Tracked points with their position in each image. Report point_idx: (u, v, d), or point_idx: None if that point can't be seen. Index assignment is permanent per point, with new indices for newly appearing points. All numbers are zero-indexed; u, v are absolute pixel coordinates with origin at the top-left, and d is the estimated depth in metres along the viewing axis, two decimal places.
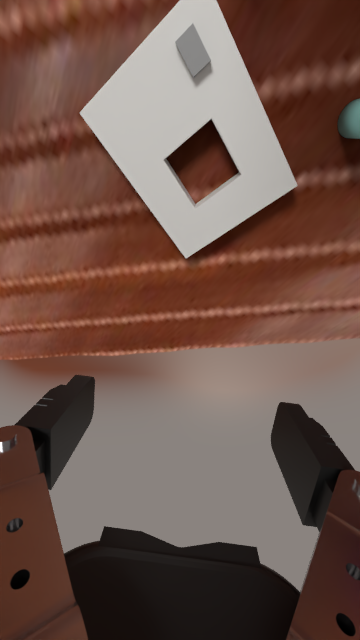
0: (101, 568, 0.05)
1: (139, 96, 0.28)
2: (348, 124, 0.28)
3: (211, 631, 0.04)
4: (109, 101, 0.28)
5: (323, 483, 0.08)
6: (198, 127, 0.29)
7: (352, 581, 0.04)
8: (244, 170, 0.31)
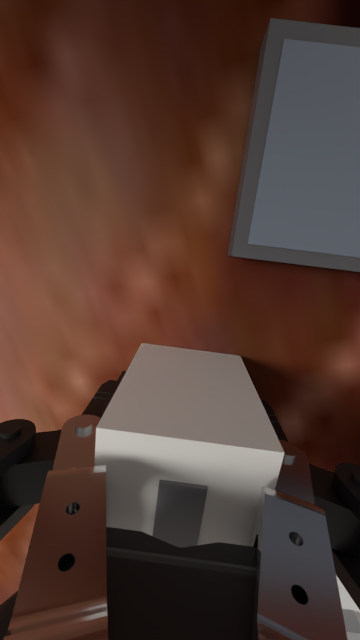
0: None
1: None
2: None
3: (211, 631, 0.04)
4: None
5: None
6: None
7: (295, 549, 0.05)
8: None
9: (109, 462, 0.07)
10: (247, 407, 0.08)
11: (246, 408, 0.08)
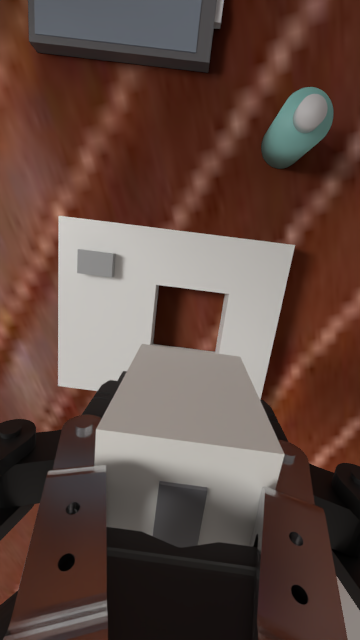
0: None
1: (88, 330, 0.25)
2: (282, 155, 0.21)
3: (211, 631, 0.04)
4: (71, 356, 0.26)
5: None
6: (152, 301, 0.24)
7: (295, 549, 0.05)
8: (227, 288, 0.24)
9: (109, 464, 0.07)
10: (247, 408, 0.08)
11: (246, 409, 0.08)
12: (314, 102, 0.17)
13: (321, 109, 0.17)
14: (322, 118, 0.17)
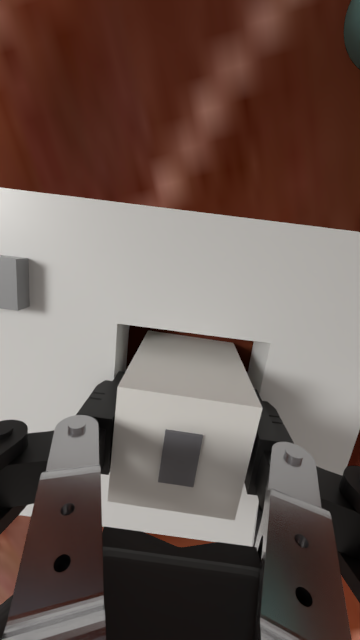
0: None
1: None
2: None
3: (211, 631, 0.04)
4: None
5: (263, 454, 0.09)
6: (111, 356, 0.12)
7: (300, 550, 0.05)
8: (268, 331, 0.11)
9: (126, 415, 0.08)
10: (236, 378, 0.10)
11: (235, 379, 0.10)
12: None
13: None
14: None
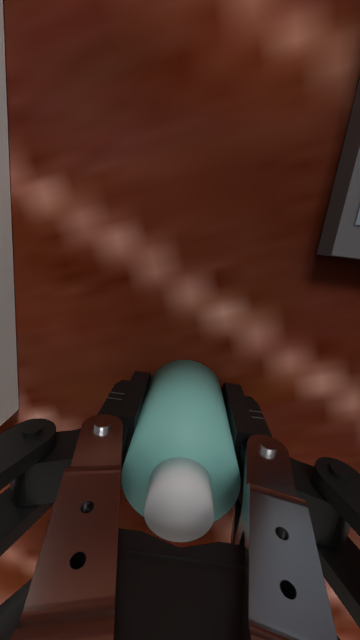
0: None
1: None
2: (140, 414, 0.10)
3: (211, 631, 0.04)
4: None
5: (240, 447, 0.09)
6: None
7: (281, 544, 0.05)
8: None
9: None
10: None
11: None
12: (195, 517, 0.07)
13: (180, 531, 0.07)
14: (161, 534, 0.07)
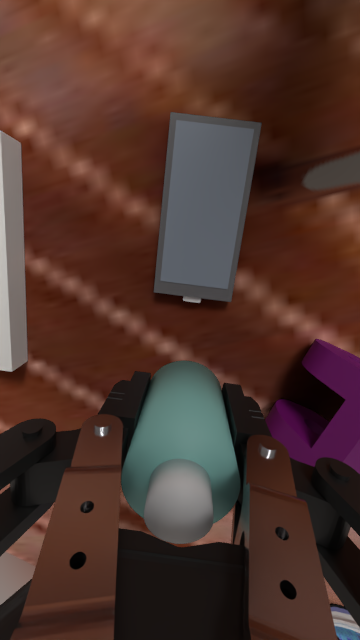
0: None
1: None
2: None
3: (211, 631, 0.04)
4: None
5: (241, 447, 0.09)
6: None
7: (281, 543, 0.05)
8: None
9: None
10: None
11: None
12: (195, 519, 0.07)
13: (180, 533, 0.07)
14: (161, 536, 0.07)
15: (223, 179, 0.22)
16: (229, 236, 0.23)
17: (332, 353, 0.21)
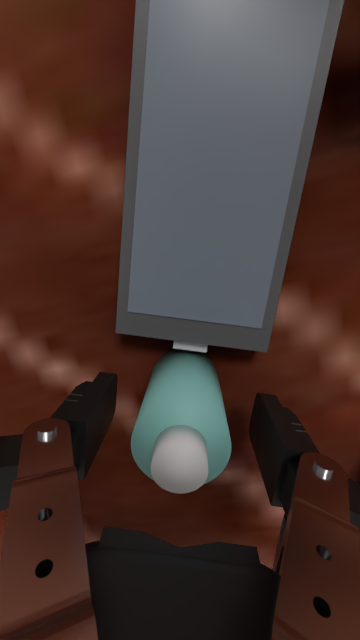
0: (101, 568, 0.05)
1: None
2: (145, 393, 0.11)
3: (211, 631, 0.04)
4: None
5: (288, 465, 0.08)
6: None
7: (323, 562, 0.05)
8: None
9: None
10: None
11: None
12: (193, 472, 0.08)
13: (180, 484, 0.08)
14: (164, 487, 0.09)
15: (259, 95, 0.10)
16: (269, 222, 0.11)
17: None
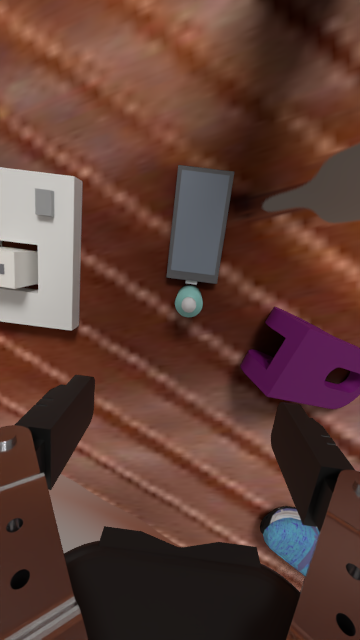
0: (101, 568, 0.05)
1: None
2: None
3: (211, 631, 0.04)
4: None
5: (323, 483, 0.08)
6: (26, 242, 0.35)
7: (352, 581, 0.04)
8: (41, 292, 0.37)
9: (6, 254, 0.32)
10: (23, 282, 0.35)
11: (23, 282, 0.35)
12: (192, 305, 0.33)
13: (189, 309, 0.33)
14: (184, 310, 0.33)
15: (211, 205, 0.34)
16: (215, 241, 0.35)
17: (281, 312, 0.34)
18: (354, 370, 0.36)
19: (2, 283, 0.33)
